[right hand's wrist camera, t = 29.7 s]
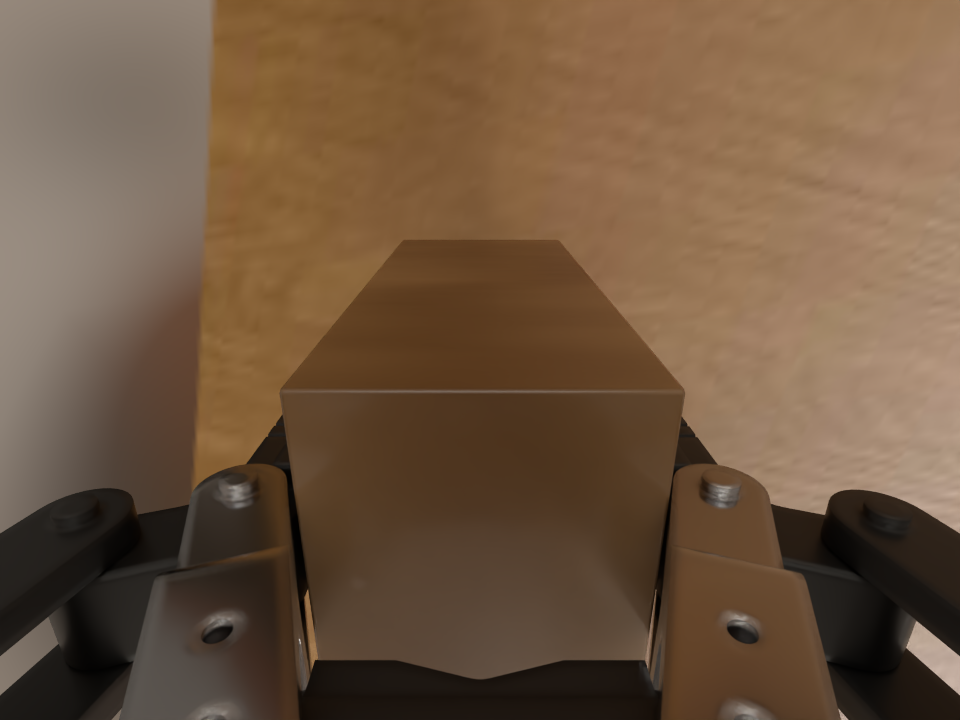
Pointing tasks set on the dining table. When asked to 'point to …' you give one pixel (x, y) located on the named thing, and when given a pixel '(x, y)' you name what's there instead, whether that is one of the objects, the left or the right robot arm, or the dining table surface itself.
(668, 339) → the dining table surface
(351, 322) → the brick
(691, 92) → the dining table surface
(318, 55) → the dining table surface
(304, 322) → the dining table surface
